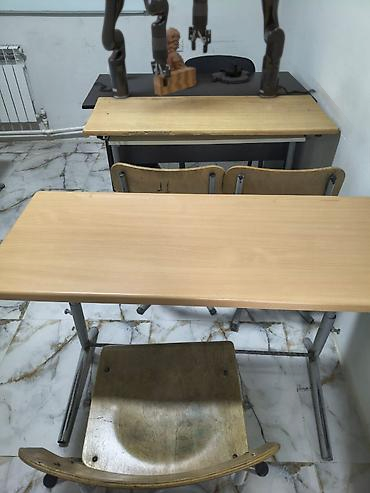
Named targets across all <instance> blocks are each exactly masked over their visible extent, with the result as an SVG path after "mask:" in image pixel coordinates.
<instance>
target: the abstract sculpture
mask: <svg viewBox="0 0 370 493" xmlns="http://www.w3.org/2000/svg"><path fill="white" fill-rule="evenodd" d="M218 71H219V72H214V73H211V77H212V82H214V83H216V82H217V81H218V82H219V81H221V82H222V83H225V84H229V85H231V84H244V83H246V82H247V83H248V82H249V81H250V77H249V76H250V72H249V71H248V70H244V67H243V66H239V65H238V63H237V62H235V61H234V60H230V61H229V68H228V67H220V68H219V70H218Z"/></svg>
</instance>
